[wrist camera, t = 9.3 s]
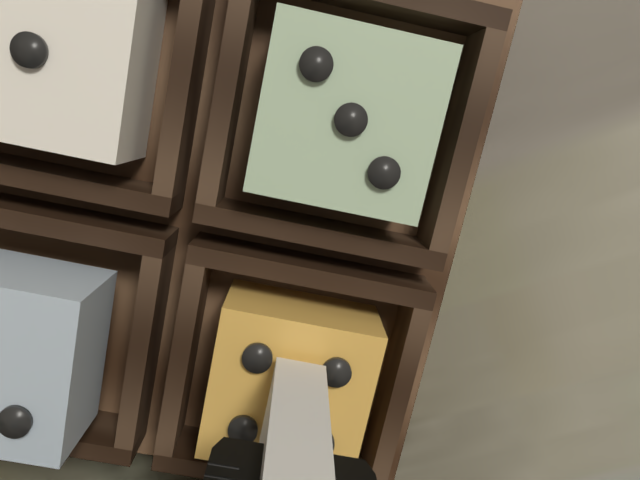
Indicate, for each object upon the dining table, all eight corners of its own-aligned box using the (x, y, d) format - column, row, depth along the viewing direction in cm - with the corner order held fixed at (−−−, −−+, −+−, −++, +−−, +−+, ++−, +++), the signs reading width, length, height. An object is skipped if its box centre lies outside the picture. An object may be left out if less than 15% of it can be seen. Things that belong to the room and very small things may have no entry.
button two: (97, 413, 19) (56, 474, 16) (-58, 387, 18) (-132, 443, 15) (117, 271, 18) (77, 304, 15) (-47, 239, 17) (-125, 267, 14)
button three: (399, 209, 19) (418, 228, 16) (252, 179, 18) (241, 192, 15) (437, 56, 18) (465, 43, 15) (281, 21, 17) (276, 0, 14)
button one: (145, 157, 18) (112, 165, 15) (-13, 124, 18) (-79, 126, 15) (168, -5, 17) (138, -32, 14) (1, -43, 17) (-68, -79, 14)
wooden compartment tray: (382, 463, 23) (398, 533, 19) (-65, 386, 22) (-144, 445, 18) (501, 10, 20) (550, -16, 16) (-29, -115, 18) (-119, -177, 14)
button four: (344, 432, 21) (352, 488, 18) (209, 409, 20) (193, 462, 17) (375, 305, 20) (388, 341, 17) (234, 278, 19) (220, 310, 16)
